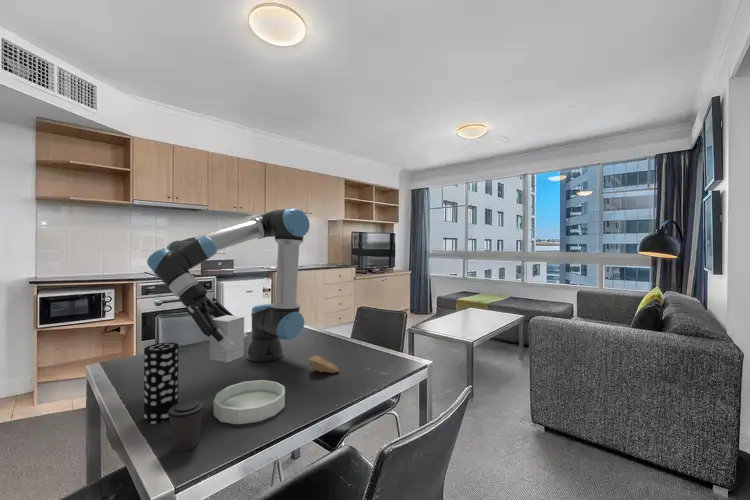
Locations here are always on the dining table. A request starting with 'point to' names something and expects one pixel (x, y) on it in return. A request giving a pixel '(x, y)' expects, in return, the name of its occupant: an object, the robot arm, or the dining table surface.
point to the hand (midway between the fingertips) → (237, 342)
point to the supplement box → (234, 332)
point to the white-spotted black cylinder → (160, 381)
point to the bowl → (249, 401)
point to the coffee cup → (186, 424)
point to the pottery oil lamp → (322, 365)
